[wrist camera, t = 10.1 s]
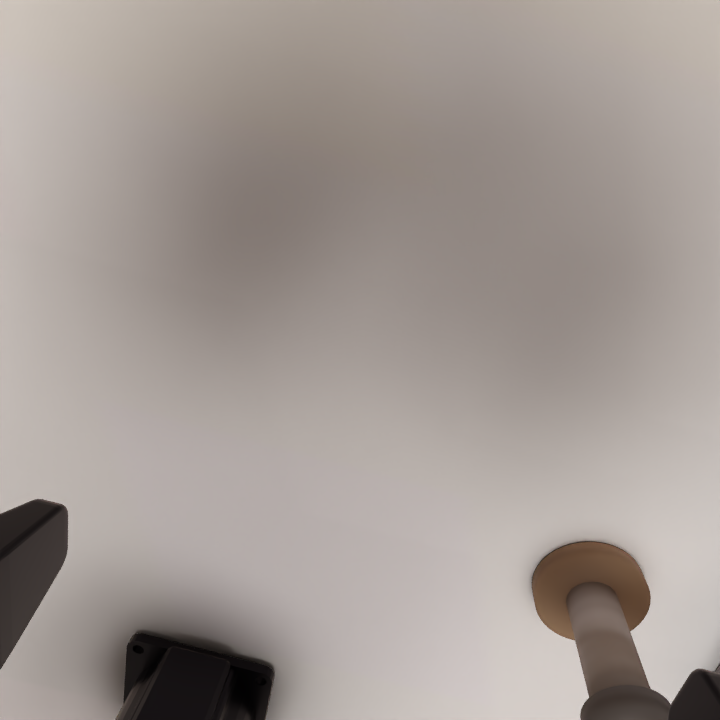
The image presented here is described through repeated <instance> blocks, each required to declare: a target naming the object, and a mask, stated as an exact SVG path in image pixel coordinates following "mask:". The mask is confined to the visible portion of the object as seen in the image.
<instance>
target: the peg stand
mask: <svg viewBox="0 0 720 720" xmlns="http://www.w3.org/2000/svg"><path fill="white" fill-rule="evenodd" d="M532 590H533V596H534V601H535V606H536V610H537V613H538V615H539V617H540V619H541V620H542V621H543V623H544V624H545V625H546V626H547V627H548V628H549V629H551V630H552V631H554V632H555V633H557V634H559V635H561V636H563V637H566V638H569V639H572V640H575V641H576V645H577V649H578V653H579V657H580V662H581V666H582V670H583V674H584V678H585V682H586V686H587V690H588V694H589V698H588V700H587V701H586V702H585V703H584V705H583V707H582V709H581V716H580V717H581V720H668V713H669V709H670V706H671V704H670V703H669V702H668V700H667V699H666V698H665V697H664V696H662V695H661V694H659V693H658V692H656V691H654V690H651V689H650V687H649V684H648V681H647V678H646V675H645V672H644V670H643V667H642V664H641V661H640V658H639V656H638V653H637V650H636V647H635V644H634V642H633V639H632V636H631V633H630V631H631V630H633V629H634V628H635V627H636V626H638V625H639V624H640V623H641V621H642V620H643V619H644V617H645V616H646V614H647V612H648V610H649V606H650V599H651V598H650V591H649V588H648V585H647V583H646V580H645V578H644V576H643V573H642V571H641V569H640V567H639V565H638V564H637V562H636V561H635V560H634V559H633V558H632V557H631V556H630V555H629V554H627V553H626V552H624V551H623V550H621V549H619V548H617V547H614V546H612V545H608V544H604V543H598V542H580V543H574V544H570V545H567V546H564V547H561V548H559V549H557V550H555V551H553V552H552V553H550V554H549V555H548V556H546V557H545V558H544V559H543V560H542V561H541V562H540V564H539V565H538V566H537V568H536V570H535V572H534V575H533V579H532Z"/></svg>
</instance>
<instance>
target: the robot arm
mask: <svg viewBox="0 0 720 720" xmlns="http://www.w3.org/2000/svg"><path fill="white" fill-rule="evenodd" d="M67 549H68V511H67V508H66V507H65V506H64V505H62V504H59V503H55V502H51V501H47V500H43V499H36V500H33V501H30V502H27V503H25V504H23V505H20V506H18V507H16V508H13V509H11V510H9V511H6V512H4V513H1V514H0V669H1V668H2V666H3V665H4V663H5V661H6V660H7V658H8V657H9V655H10V653H11V652H12V650H13V648H14V647H15V645H16V643H17V642H18V640H19V638H20V637H21V635H22V633H23V632H24V630H25V628H26V627H27V625H28V623H29V621H30V620H31V618H32V616H33V615H34V613H35V611H36V610H37V608H38V606H39V605H40V603H41V601H42V599H43V598H44V596H45V594H46V593H47V591H48V589H49V588H50V586H51V584H52V583H53V581H54V579H55V578H56V576H57V574H58V572H59V571H60V569H61V567H62V565H63V563H64V561H65V558H66V555H67ZM273 681H274V672H273V670H272V669H271V668H270V667H268V666H265V665H262V664H258V663H254V662H250V661H246V660H242V659H238V658H234V657H231V656H227V655H223V654H219V653H215V652H211V651H207V650H203V649H200V648H196V647H192V646H188V645H184V644H180V643H176V642H172V641H169V640H165V639H161V638H157V637H153V636H149V635H145V634H139V633H138V634H135V635H133V636H132V638H131V640H130V641H129V643H128V645H127V656H126V672H125V689H124V704H123V706H122V708H121V710H120V712H119V714H118V716H117V718H116V720H265V719H266V714H267V709H268V704H269V700H270V695H271V690H272V685H273ZM668 720H720V673H716V672H712V671H708V670H704V669H696V670H695V671H693V672H692V673H691V674H690V675H689V677H688V678H687V680H686V682H685V683H684V685H683V686H682V688H681V689H680V691H679V693H678V694H677V696H676V697H675V699H674V700H673V702H672V704H671V706H670V709H669V713H668Z"/></svg>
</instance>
